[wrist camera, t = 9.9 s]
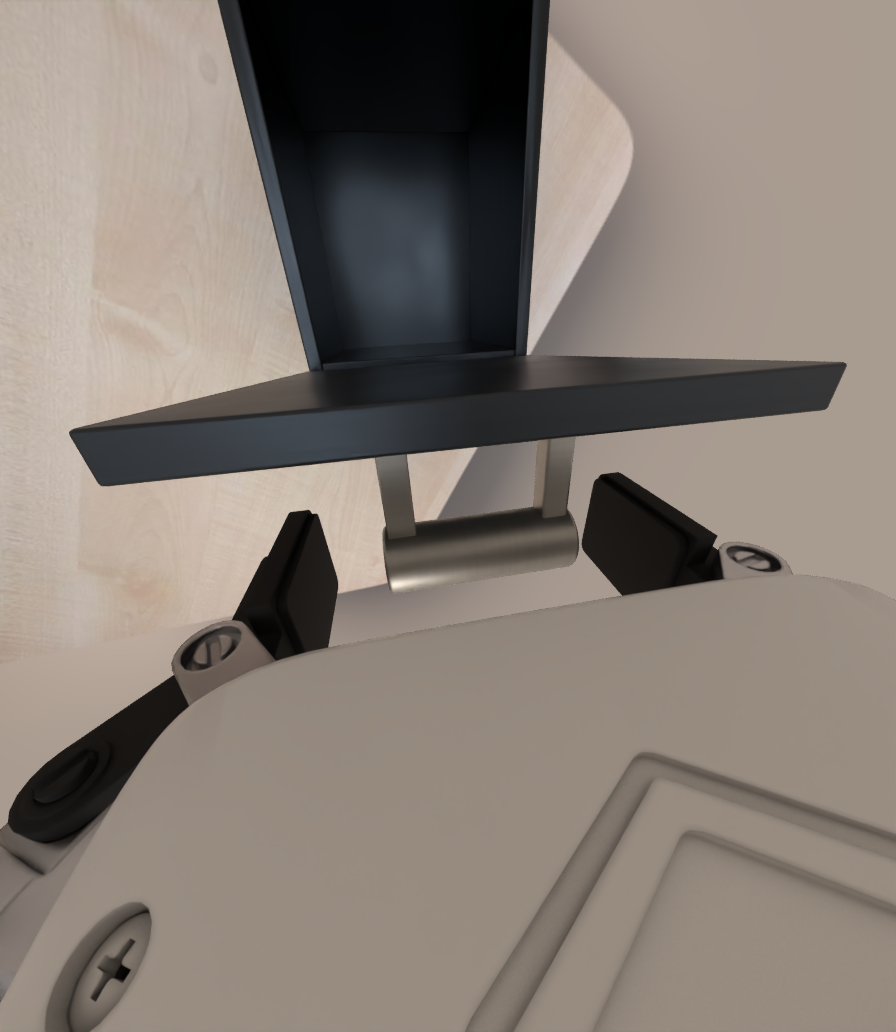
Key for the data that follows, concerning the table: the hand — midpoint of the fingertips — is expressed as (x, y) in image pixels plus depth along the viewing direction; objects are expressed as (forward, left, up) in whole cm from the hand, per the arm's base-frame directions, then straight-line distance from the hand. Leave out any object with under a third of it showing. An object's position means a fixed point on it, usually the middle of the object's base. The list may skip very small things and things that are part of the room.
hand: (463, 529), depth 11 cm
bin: (-9, +5, -22) cm, 24 cm away
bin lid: (-4, +2, -3) cm, 5 cm away
